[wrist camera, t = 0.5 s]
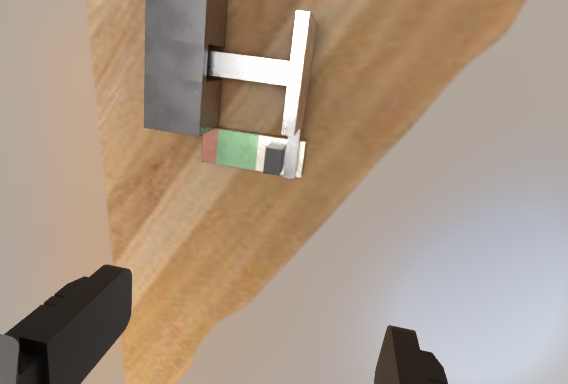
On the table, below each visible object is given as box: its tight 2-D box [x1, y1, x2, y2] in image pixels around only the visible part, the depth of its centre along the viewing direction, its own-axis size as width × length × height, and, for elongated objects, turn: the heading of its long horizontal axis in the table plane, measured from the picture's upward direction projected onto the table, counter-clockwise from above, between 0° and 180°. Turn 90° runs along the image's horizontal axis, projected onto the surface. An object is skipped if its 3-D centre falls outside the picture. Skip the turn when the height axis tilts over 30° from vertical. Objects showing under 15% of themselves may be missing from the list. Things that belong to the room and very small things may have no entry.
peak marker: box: [263, 143, 286, 176], centre depth 37 cm, size 2×2×2 cm, turn 173°
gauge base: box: [144, 0, 307, 178], centre depth 36 cm, size 16×14×6 cm
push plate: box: [207, 10, 317, 179], centre depth 35 cm, size 14×11×7 cm
